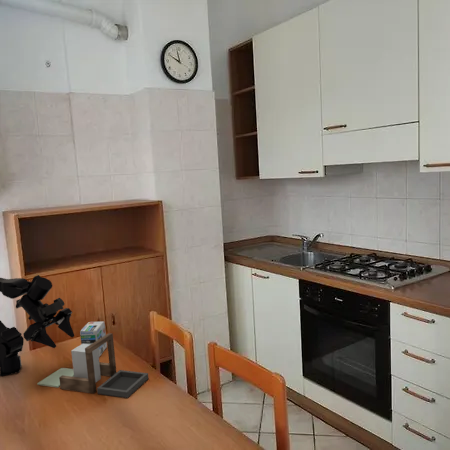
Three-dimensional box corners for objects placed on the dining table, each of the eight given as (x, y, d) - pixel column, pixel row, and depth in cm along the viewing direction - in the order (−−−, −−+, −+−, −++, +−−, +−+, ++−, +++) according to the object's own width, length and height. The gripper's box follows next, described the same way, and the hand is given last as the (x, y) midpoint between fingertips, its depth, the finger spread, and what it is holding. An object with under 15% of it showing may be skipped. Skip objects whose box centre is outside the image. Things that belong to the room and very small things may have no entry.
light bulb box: (99, 357, 172) (96, 330, 170) (82, 358, 172) (79, 331, 170) (107, 346, 182) (104, 320, 181) (90, 347, 182) (88, 321, 181)
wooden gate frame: (60, 388, 149) (55, 345, 147) (85, 371, 161) (81, 330, 159) (93, 393, 144) (88, 348, 142) (116, 375, 156) (112, 333, 154)
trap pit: (97, 394, 144) (96, 388, 143) (120, 375, 156) (120, 369, 155) (127, 398, 140) (126, 392, 139) (148, 378, 152) (148, 373, 151)
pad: (37, 384, 153) (37, 383, 152) (61, 369, 164) (61, 367, 164) (58, 387, 150) (57, 386, 150) (81, 371, 161) (81, 370, 161)
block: (75, 384, 151) (71, 350, 149) (86, 376, 156) (82, 343, 155) (90, 387, 149) (86, 352, 147) (101, 378, 154) (97, 345, 153)
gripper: (26, 301, 145) (57, 337, 142) (65, 285, 162) (94, 317, 160) (10, 323, 148) (40, 358, 146) (49, 305, 166) (77, 337, 163)
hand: (64, 341), depth 154 cm, fingers open, 9 cm apart
